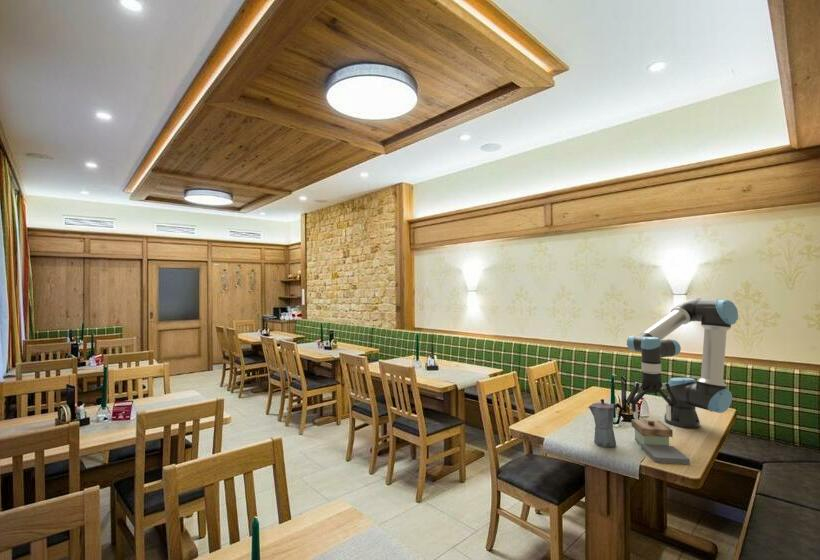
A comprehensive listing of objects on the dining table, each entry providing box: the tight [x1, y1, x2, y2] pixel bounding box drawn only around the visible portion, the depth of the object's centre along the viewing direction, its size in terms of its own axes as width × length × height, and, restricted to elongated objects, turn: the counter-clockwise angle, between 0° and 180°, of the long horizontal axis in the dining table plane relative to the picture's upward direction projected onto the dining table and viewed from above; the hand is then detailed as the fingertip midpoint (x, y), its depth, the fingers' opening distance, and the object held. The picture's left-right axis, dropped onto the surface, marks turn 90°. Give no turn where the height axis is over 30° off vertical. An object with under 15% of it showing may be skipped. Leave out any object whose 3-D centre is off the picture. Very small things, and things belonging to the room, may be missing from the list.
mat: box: [640, 444, 691, 465], centre depth 167 cm, size 13×13×2 cm
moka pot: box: [587, 398, 624, 448], centre depth 180 cm, size 10×15×20 cm, turn 95°
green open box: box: [634, 428, 670, 446], centre depth 179 cm, size 10×10×6 cm
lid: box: [631, 418, 674, 438], centre depth 179 cm, size 12×12×4 cm
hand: (652, 419), depth 179 cm, fingers open, 13 cm apart
